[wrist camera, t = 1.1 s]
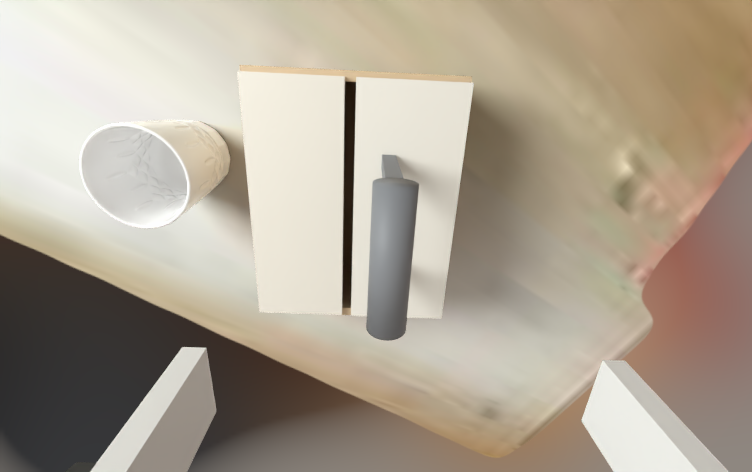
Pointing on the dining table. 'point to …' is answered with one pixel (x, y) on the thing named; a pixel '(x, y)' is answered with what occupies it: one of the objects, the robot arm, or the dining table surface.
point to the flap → (405, 197)
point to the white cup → (152, 169)
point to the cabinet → (303, 182)
